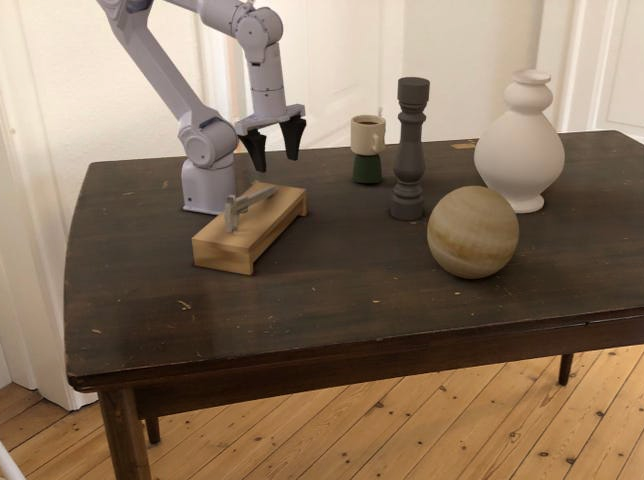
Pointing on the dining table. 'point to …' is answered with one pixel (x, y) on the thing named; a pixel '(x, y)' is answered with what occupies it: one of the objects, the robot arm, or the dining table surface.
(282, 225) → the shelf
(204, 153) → the robot arm
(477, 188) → the decorative ball
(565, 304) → the dining table surface
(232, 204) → the caliper
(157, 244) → the dining table surface
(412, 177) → the candle holder
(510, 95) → the decorative vase
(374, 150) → the character mug
